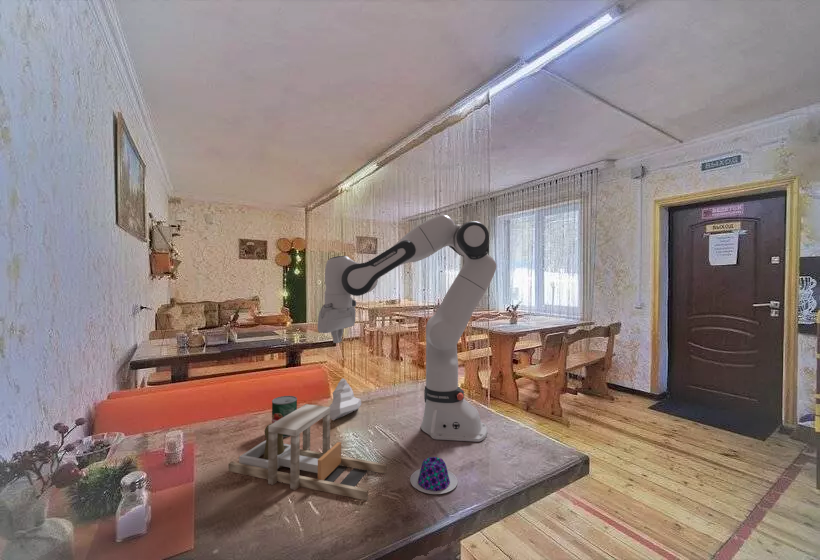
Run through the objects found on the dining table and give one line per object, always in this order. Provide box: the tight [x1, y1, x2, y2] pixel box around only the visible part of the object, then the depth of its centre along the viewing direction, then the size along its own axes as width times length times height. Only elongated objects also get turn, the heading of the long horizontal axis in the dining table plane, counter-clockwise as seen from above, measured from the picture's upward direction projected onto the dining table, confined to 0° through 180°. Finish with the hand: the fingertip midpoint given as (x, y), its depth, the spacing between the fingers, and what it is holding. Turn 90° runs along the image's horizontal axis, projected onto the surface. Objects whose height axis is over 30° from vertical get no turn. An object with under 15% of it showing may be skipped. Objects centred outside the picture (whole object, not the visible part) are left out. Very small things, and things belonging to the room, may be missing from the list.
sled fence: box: [238, 440, 342, 480], centre depth 94 cm, size 25×10×6 cm, turn 73°
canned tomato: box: [271, 395, 298, 439], centre depth 116 cm, size 8×8×11 cm
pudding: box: [409, 456, 459, 495], centre depth 89 cm, size 12×12×5 cm
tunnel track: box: [227, 403, 388, 501], centre depth 93 cm, size 40×16×14 cm, turn 73°
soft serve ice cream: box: [328, 377, 362, 421], centre depth 133 cm, size 12×15×14 cm
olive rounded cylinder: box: [263, 422, 285, 470], centre depth 96 cm, size 6×6×11 cm
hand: (337, 342), depth 122 cm, fingers closed
